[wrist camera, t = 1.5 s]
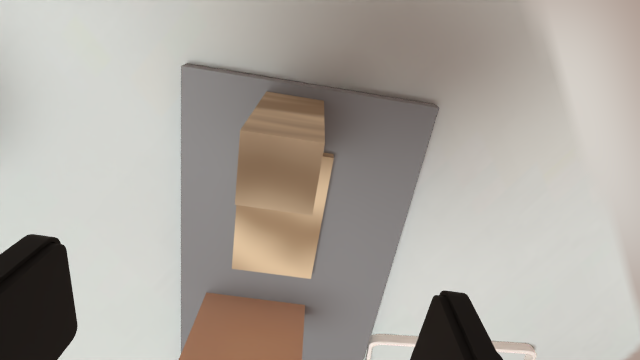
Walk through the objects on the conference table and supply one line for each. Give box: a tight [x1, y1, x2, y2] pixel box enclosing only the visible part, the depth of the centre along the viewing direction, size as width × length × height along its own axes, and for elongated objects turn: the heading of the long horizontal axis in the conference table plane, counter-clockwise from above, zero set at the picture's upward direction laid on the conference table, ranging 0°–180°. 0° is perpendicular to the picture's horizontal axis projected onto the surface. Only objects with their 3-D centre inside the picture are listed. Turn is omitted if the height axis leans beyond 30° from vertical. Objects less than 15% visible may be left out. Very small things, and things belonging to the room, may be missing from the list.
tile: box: [179, 293, 305, 360], centre depth 25 cm, size 1×8×10 cm, turn 82°
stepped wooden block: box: [232, 91, 334, 279], centre depth 22 cm, size 13×6×8 cm, turn 171°
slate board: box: [181, 64, 439, 360], centre depth 29 cm, size 28×16×1 cm, turn 171°
